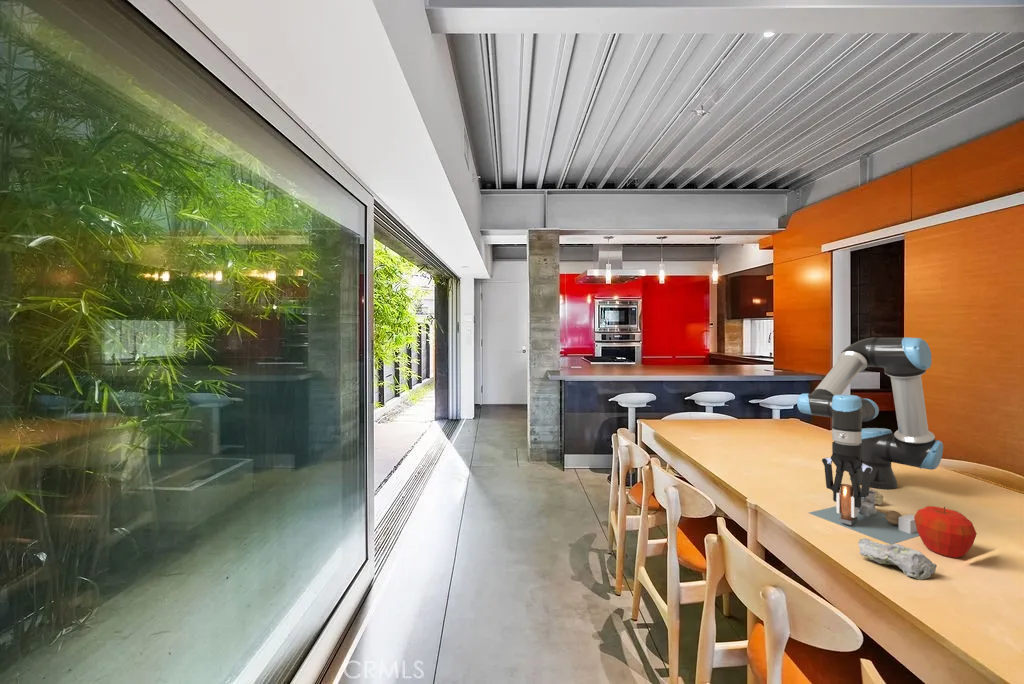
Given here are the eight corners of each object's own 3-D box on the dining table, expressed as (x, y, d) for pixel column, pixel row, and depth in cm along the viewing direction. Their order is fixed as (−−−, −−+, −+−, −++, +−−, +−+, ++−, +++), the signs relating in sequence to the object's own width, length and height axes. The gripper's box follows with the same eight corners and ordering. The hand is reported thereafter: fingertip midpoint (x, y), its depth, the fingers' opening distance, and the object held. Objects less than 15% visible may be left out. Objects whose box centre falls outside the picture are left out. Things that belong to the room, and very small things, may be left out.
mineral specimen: (854, 562, 116) (854, 538, 116) (858, 553, 121) (858, 530, 121) (934, 586, 105) (934, 559, 105) (935, 575, 109) (935, 549, 109)
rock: (886, 495, 149) (871, 481, 159) (848, 492, 152) (836, 479, 162) (884, 513, 150) (869, 498, 160) (847, 509, 153) (834, 495, 163)
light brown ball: (890, 520, 139) (890, 507, 139) (906, 526, 135) (906, 512, 135) (882, 523, 137) (882, 509, 137) (898, 528, 133) (898, 515, 133)
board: (851, 505, 154) (851, 491, 154) (937, 534, 132) (937, 517, 132) (807, 516, 146) (807, 501, 145) (890, 548, 123) (891, 531, 123)
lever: (858, 505, 149) (858, 472, 149) (880, 511, 144) (881, 477, 144) (835, 520, 137) (835, 484, 137) (858, 527, 132) (859, 489, 132)
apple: (902, 544, 125) (902, 498, 125) (943, 545, 125) (944, 498, 125) (944, 567, 113) (944, 515, 113) (989, 568, 113) (990, 516, 112)
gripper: (812, 439, 141) (813, 508, 141) (873, 449, 127) (874, 526, 127) (822, 436, 145) (823, 503, 145) (883, 446, 131) (883, 520, 131)
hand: (846, 514), depth 136 cm, fingers closed on lever, 3 cm apart
